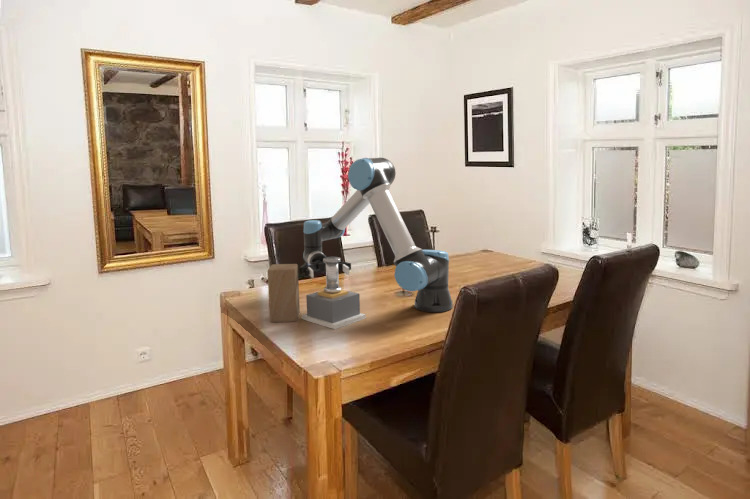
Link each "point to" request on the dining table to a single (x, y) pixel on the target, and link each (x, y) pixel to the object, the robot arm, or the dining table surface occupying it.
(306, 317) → the pin housing
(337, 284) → the steel pin
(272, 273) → the wooden block
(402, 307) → the dining table surface
